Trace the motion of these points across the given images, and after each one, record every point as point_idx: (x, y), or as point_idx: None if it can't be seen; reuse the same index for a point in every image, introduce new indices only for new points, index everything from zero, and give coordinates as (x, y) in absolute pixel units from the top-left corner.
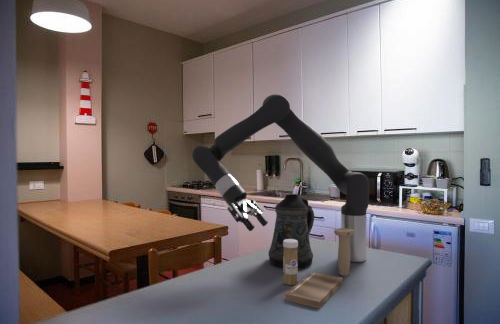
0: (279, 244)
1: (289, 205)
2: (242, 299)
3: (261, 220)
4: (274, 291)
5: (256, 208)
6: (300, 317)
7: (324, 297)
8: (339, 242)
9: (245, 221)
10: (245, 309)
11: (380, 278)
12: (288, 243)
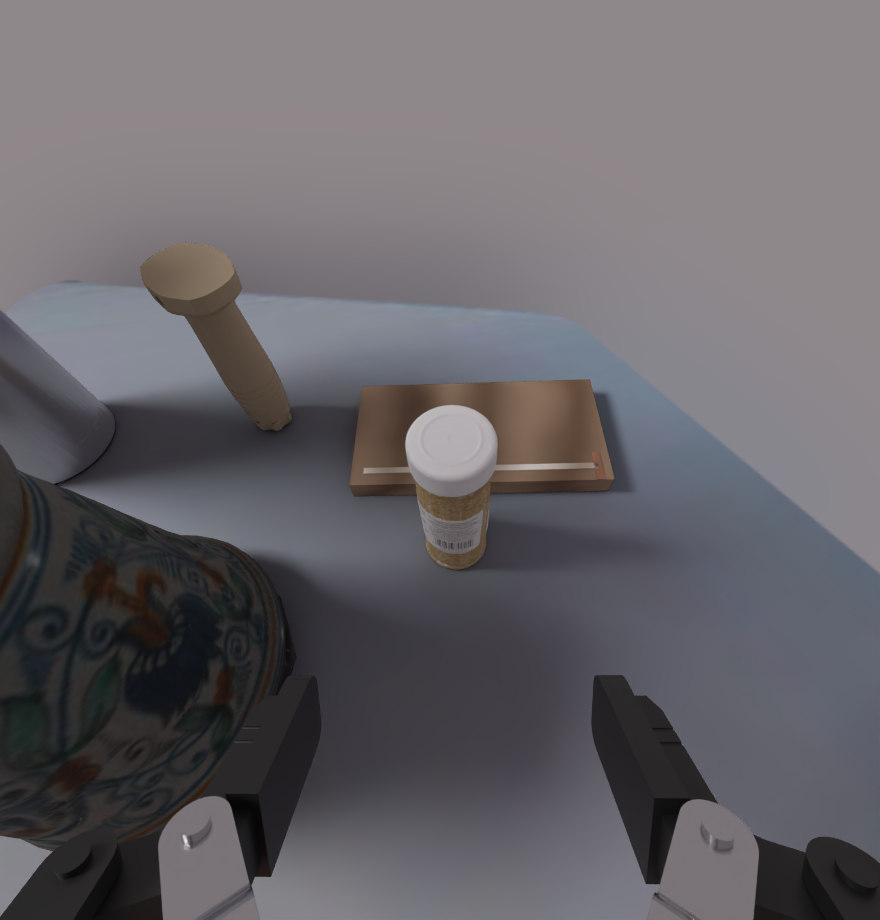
0: (204, 683)
1: None
2: (730, 628)
3: (294, 765)
4: (570, 556)
5: (228, 914)
6: (670, 411)
7: (547, 382)
8: (232, 333)
9: (709, 799)
10: (777, 567)
11: (271, 336)
12: (496, 435)
